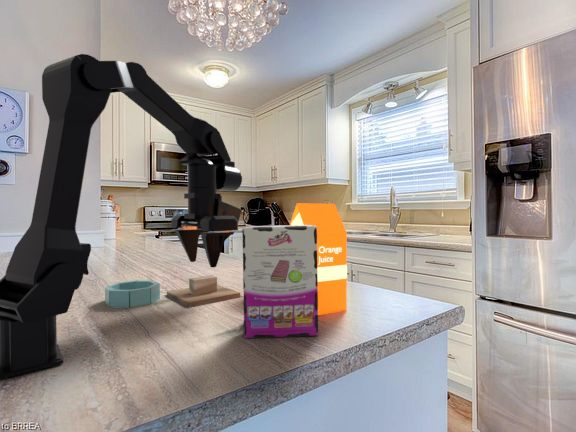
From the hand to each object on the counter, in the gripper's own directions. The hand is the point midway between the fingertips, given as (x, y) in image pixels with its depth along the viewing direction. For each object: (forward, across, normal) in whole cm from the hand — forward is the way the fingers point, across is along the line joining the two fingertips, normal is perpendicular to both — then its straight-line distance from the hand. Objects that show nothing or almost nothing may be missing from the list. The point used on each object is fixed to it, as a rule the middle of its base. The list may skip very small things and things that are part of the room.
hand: (202, 264), depth 68 cm
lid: (+7, 0, 0) cm, 7 cm away
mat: (+8, 0, 0) cm, 8 cm away
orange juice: (+8, -19, -14) cm, 25 cm away
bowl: (+8, +6, +12) cm, 15 cm away
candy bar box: (+8, -24, -1) cm, 25 cm away
